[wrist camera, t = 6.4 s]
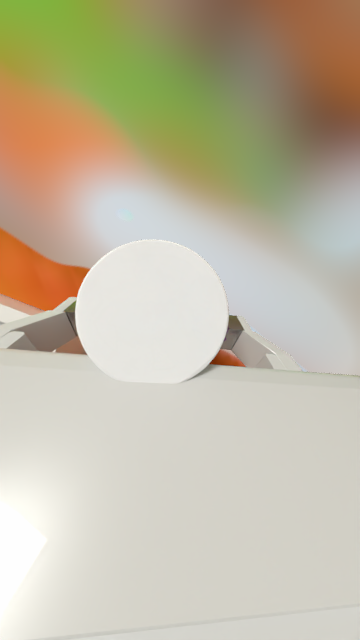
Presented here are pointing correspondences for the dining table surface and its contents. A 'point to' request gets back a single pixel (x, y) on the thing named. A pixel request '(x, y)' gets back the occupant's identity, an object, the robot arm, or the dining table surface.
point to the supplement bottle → (152, 313)
